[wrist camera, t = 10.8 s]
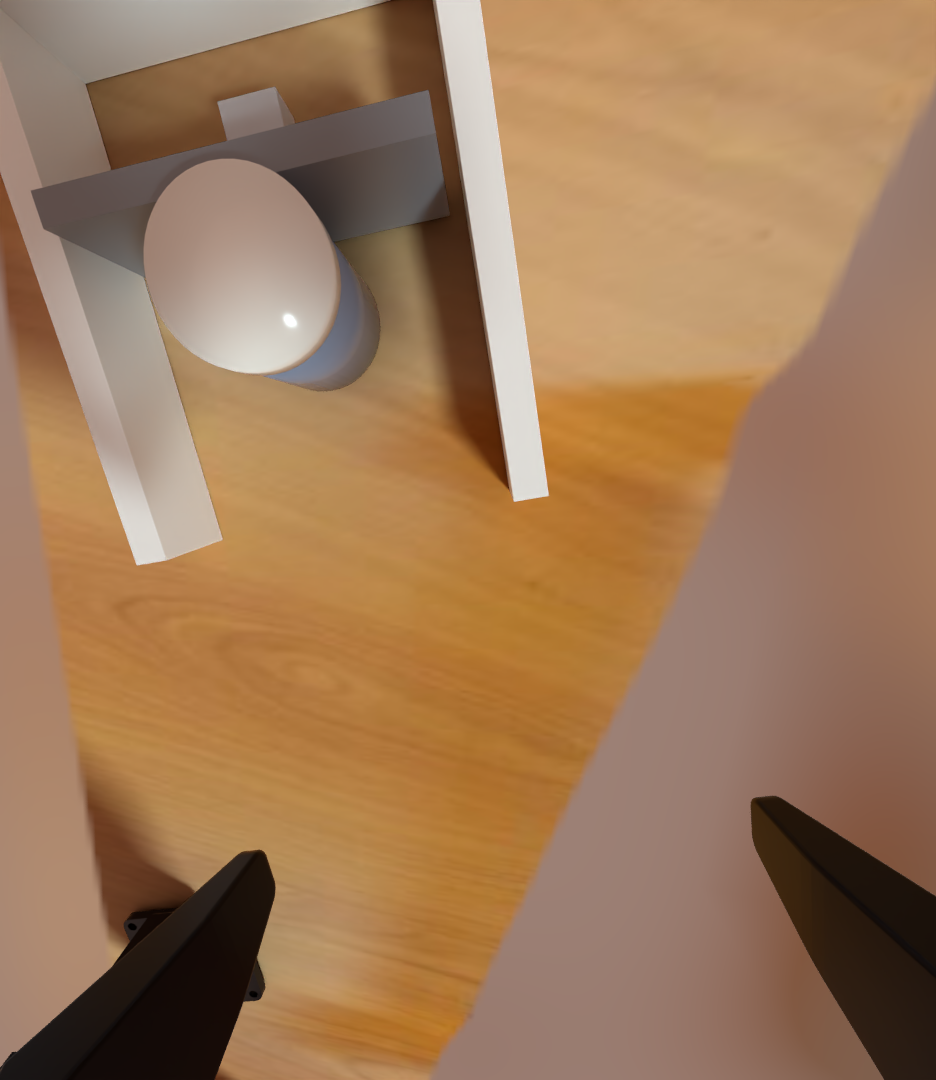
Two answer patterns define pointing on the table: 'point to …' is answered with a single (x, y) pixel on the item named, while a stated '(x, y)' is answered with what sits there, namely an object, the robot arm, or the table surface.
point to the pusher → (290, 151)
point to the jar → (257, 279)
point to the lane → (121, 295)
